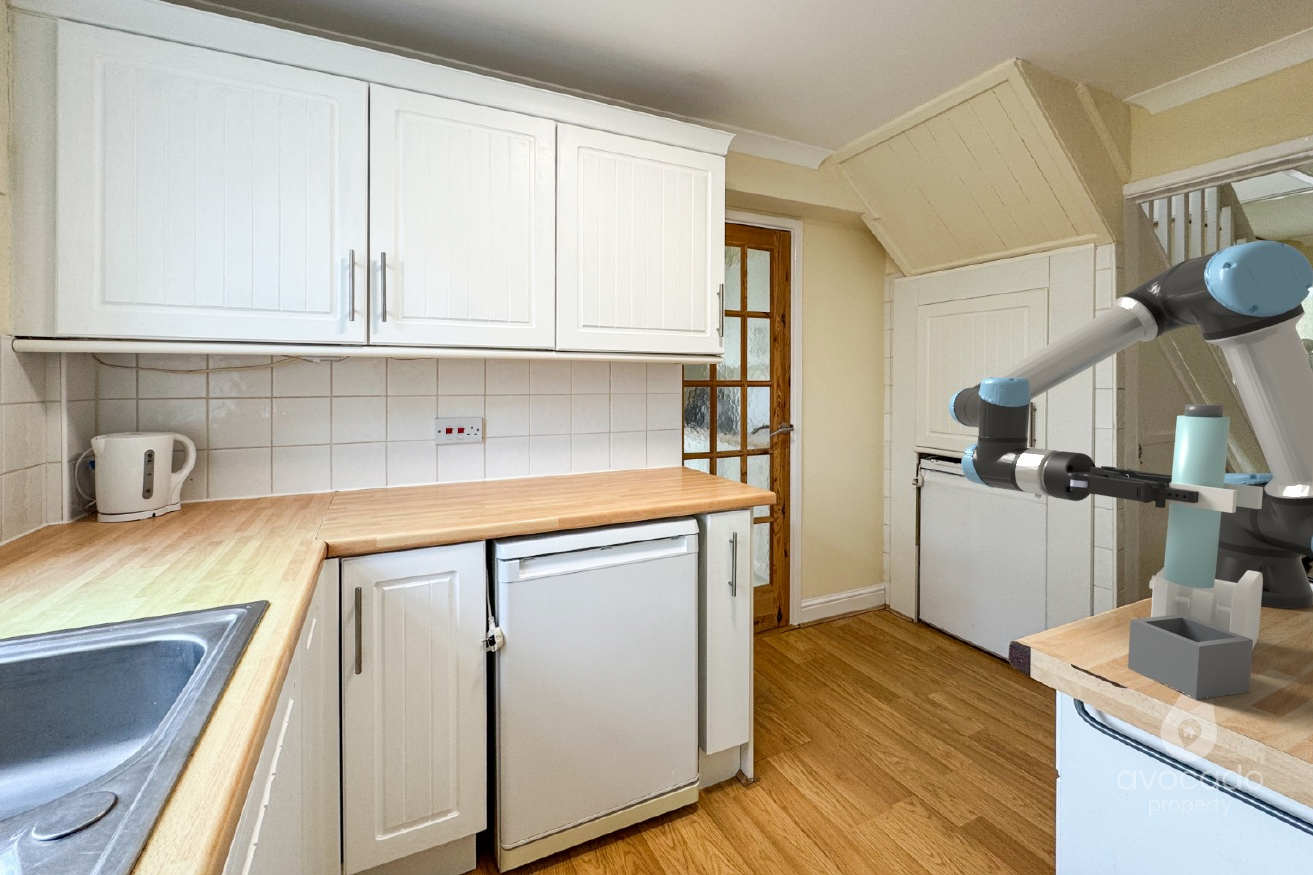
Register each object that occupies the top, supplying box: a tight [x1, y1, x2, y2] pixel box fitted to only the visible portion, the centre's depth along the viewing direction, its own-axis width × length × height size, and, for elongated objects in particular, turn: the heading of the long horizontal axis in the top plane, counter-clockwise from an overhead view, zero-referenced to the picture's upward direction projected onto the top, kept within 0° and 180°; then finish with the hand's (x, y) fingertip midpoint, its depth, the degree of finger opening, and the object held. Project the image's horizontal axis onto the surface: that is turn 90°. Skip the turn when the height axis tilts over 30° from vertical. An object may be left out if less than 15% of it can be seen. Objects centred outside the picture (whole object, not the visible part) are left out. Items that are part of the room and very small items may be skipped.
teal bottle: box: [1163, 403, 1231, 588], centre depth 75 cm, size 5×5×24 cm
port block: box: [1127, 614, 1253, 701], centre depth 77 cm, size 9×9×7 cm
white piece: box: [1148, 566, 1263, 651], centre depth 87 cm, size 15×11×12 cm
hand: (1247, 499), depth 71 cm, fingers closed on teal bottle, 5 cm apart
